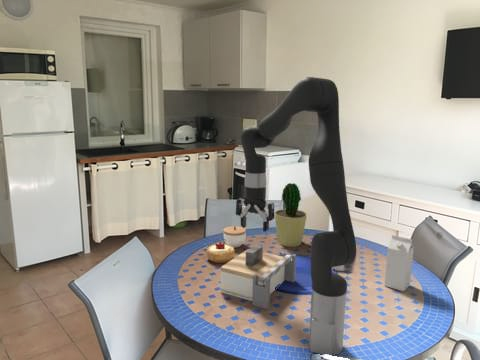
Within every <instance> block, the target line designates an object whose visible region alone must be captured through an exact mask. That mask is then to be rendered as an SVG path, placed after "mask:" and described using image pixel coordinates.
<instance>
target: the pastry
mask: <svg viewBox="0 0 480 360" xmlns="http://www.w3.org/2000/svg"><path fill="white" fill-rule="evenodd" d="M222 241H225V239H224V238H223V239H221V241H218V242H216V243H215V244H211V245H209V247H207V249H206V256H207V259H209V261H210V262H212V263H216V264H226V263H228V262H229V261H231V260H232V259H234V258H235V248H233V247H232V246H230V245H228V244H227V243H224V242H222Z"/></svg>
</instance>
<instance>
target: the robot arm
mask: <svg viewBox="0 0 480 360" xmlns="http://www.w3.org/2000/svg"><path fill="white" fill-rule="evenodd" d="M339 99H340V98H339V90H338V87H337V85H336V83H335V82H334V81H333V80H331V79H328V78H324V77H323V78H322V77H314V76H306V77H303V78H301V79H300V80H299V81H298V82H297V83H296V84H295V85H294V86H293V88H292V89H291V90H290V91H289V93H288V94H287V95H286V96H285V97H284V99H283V100H282V101H281V102H280V103H279V105H278V106H277V107H276V108H275V109H274V110H273V111H272V112H270V113H269V114H268V115H266V116H265V117H264V118H263V119H261V121H260V122H259V124H258V127H257V126H256V127H251V126H250V127H246V128H244V129H243V130H242V132H241V135H240V143H241V146H242V150H243V154H244V158H245V159H244V160H245V175H244V198H243V197H240V198H238V199H236V200H235V201H236V202H235V203H236V204H235V216H238V217H240V227H242V228H245V229H246V227H247V215H248V214H249V213H250V214H255V215H259V217H261V218H262V220H263V222H262V231H263V232H264V233H266V232H267V231H268V230H269V229H270V222H271V221H273V220H274V219H275V203H274V202H267V201H266V199H267V198H266V197H267V173H266V172H267V171H266V170H267V159H266V156H265V155H262V154H257V151H256V149H260V148H261V149H262V148H266V147H269V146H270V145H271V144H272V143H273V142H274V140H275V139H276V138H277V136H280V135H281V134H282V133H283V132H285V131H286V130H287V129H288V128H289V126H290V125H291V122H292V117H293V116H294V115H296V114H299V113H301V112H303V111H304V112H310V113H311V112H312V113H316V114H317V115H316V116H317V120H318V121H317V125H318V130H317V136H316V138H315V140H314V143H313V145H312V148H311V150H310V152H309V155H308V170H309V171H308V172H309V181H310V184H311V187H312V189H313V191H314V192H315V194H316V195H317V196H318V198H319V199H320V200H321V202H322V203H323V204H324V206H325V207H326V209H327V211H328V213H329V216H330V219H331V223H332V227H333V230H332V231H325V232H324V231H323V232H317V233H315V234H314V235H313V237H312V239H311V242H310V277H311V298H310V299H311V300H310V301H311V302H310V318H309V336H308V345H309V352H312V353H315V354H318V353H319V355H321V354H329V355H334V356H337V355H339V354H341V353H342V351H343V348H344V334H345V333H344V332H345V319H346V304H347V294H348V293H347V291H348V282H347V280H346V278H345V277H344V276H342V275H340V274H337V273H334V272H333V271H332V270H333V267H335V266H342V265H344V266H348V265H351V264H353V263H354V262H355V260H356V258H357V243H356V237H355V231H354V227H353V223H352V219H351V214H350V209H349V204H348V203H349V202H348V194H347V188H346V187H347V186H346V177H345V173H346V172H345V165H344V160H343V159H344V158H343V153H342V143H341V134H340V133H341V131H340V105H339V103H340V101H339ZM243 206H245V208H244V209H243ZM266 208H267V210H268V211H267V210H266Z"/></svg>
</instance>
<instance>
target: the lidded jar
mask: <svg viewBox="0 0 480 360" xmlns="http://www.w3.org/2000/svg"><path fill="white" fill-rule="evenodd" d="M246 236H247V229H246V227H245V228H242V226H236V225H234V226H232V225H231V226H227V227H225V228H223V239H225V240H224V242H225V244H228V245H230V246H232V247H233V248H234V249H235V248H241V246H242V245H243V244H244V243H245V241H246V238H247V237H246Z"/></svg>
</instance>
